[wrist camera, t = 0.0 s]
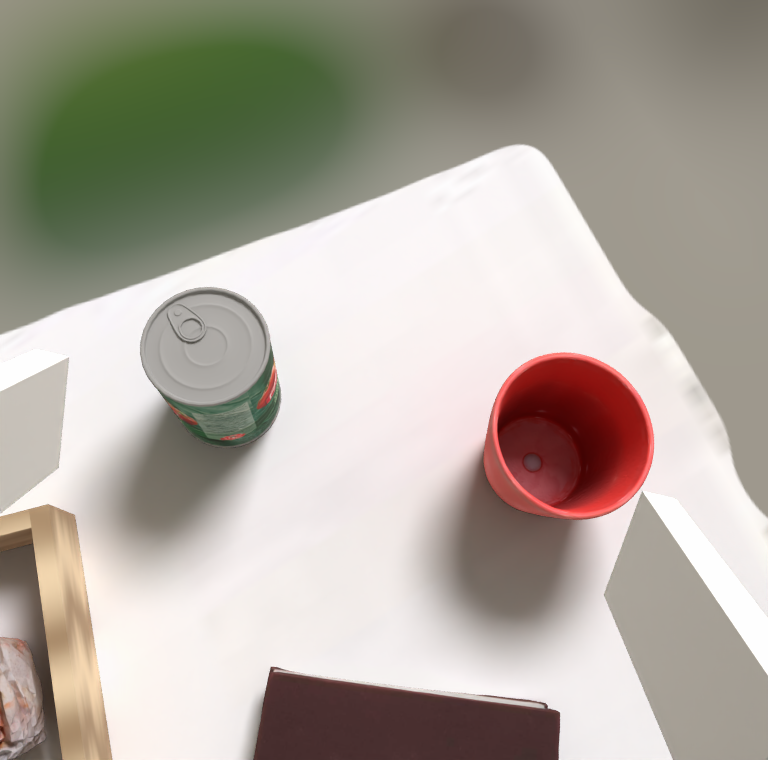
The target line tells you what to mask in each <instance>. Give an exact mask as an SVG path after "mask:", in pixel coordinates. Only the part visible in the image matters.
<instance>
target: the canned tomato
mask: <svg viewBox="0 0 768 760" xmlns="http://www.w3.org/2000/svg"><path fill="white" fill-rule="evenodd" d="M140 355H141V360H142V365H143V368H144V370H145V372H146V375H147V377H148V378H149V380H150V381H151V382H152V384H153V385H154V387H156V388H157V390H158V391H159V392H160V394H161V395H162V396H163V398H164V399H165V400H166V402H167V403H168V404H169V406H170V407H171V409H172V410H173V411H174V413H175V414H176V415H177V417H178V418H179V419H180V421H181V422H182V424H183V425H184V427H185V428H186V429H187V431H188V432H189V433H190V434H191V435H192V436H194V437H195V438H196V439H198V440H200V441H201V442H203V443H205V444H208V445H211V446H214V447H221V448H234V447H239V446H243V445H246V444H248V443H250V442H253V441H255V440H256V439H258V438H259V437H260V436H262V435H263V434H264V433H265V432H266V431H267V430H268V429H269V428H270V427H271V425H272V424H273V422H274V421H275V419H276V417H277V414H278V412H279V409H280V403H281V388H280V384H279V380H278V376H277V371H276V366H275V361H274V357H273V351H272V346H271V342H270V335H269V331H268V327H267V324H266V322H265V320H264V318H263V316H262V314H261V313H260V312H259V311H258V309H257V308H256V307H255V306H254V305H253V304H252V303H251V302H250V301H248V300H247V299H246V298H244V297H242V296H241V295H239V294H237V293H235V292H232V291H229V290H226V289H222V288H214V287H202V288H195V289H190V290H186V291H184V292H181V293H179V294H176V295H175V296H173V297H171V298H170V299H168V300H167V301H165V302H164V303H163V304H162V305H161V306H159V307H158V308H157V309H156V310H155V312H154V313H153V314H152V316H151V317H150V318H149V320H148V322H147V324H146V326H145V328H144V330H143V334H142V338H141V344H140Z"/></svg>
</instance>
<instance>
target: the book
mask: <svg viewBox="0 0 768 760" xmlns="http://www.w3.org/2000/svg"><path fill="white" fill-rule="evenodd" d="M547 708H548V706H547V704H546V703H542V702H537V701H531V700H523V699H513V698H505V697H497V696H489V695H473V694H466V693H455V692H445V691H436V690H428V689H419V688H411V687H402V686H394V685H386V684H376V683H369V682H361V681H353V680H345V679H338V678H331V677H323V676H316V675H308V674H303V673H298V672H292V671H288V670H284V669H281V668H278V667H271V669H270V672H269V677H268V682H267V686H266V691H265V697H264V702H263V708H262V715H261V722H260V727H259V732H258V738H257V744H256V749H255V755H254V760H559V733H560V712H558V711H556V710H552V709H547Z"/></svg>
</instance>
